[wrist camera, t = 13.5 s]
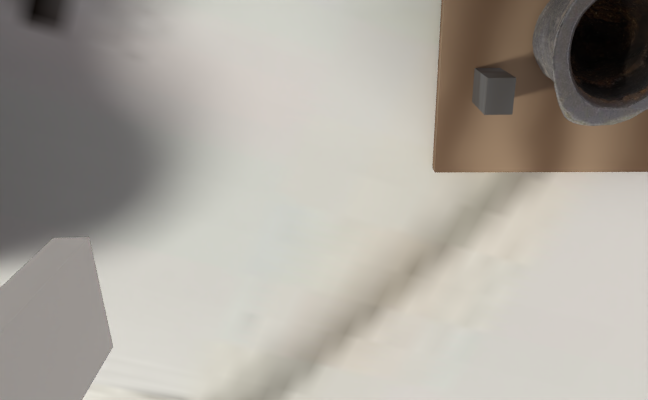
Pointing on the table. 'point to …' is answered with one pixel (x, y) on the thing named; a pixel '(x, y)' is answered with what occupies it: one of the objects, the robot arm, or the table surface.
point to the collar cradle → (514, 101)
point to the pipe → (595, 58)
